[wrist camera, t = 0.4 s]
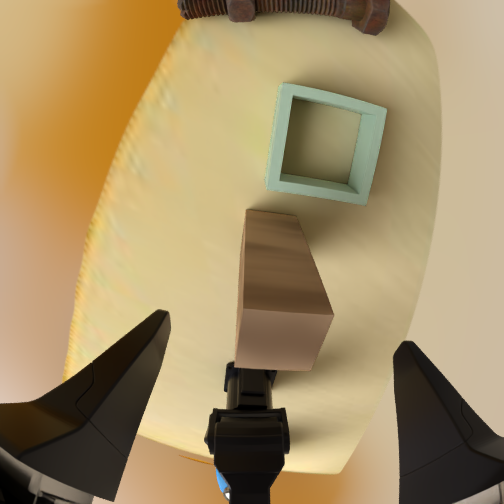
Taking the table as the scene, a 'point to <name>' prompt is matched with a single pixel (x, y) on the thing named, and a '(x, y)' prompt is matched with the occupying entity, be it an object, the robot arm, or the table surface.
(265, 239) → the peg
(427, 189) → the table surface
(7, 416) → the robot arm
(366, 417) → the table surface
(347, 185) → the collar
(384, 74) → the table surface
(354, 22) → the bolt
